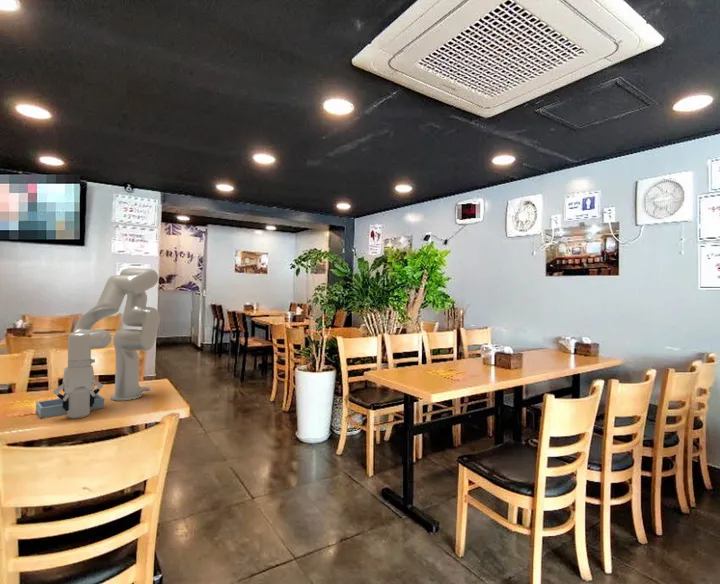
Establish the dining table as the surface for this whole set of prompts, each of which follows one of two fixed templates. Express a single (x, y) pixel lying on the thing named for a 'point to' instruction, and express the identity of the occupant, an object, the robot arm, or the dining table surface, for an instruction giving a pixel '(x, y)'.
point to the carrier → (56, 407)
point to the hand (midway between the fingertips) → (78, 407)
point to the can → (78, 403)
